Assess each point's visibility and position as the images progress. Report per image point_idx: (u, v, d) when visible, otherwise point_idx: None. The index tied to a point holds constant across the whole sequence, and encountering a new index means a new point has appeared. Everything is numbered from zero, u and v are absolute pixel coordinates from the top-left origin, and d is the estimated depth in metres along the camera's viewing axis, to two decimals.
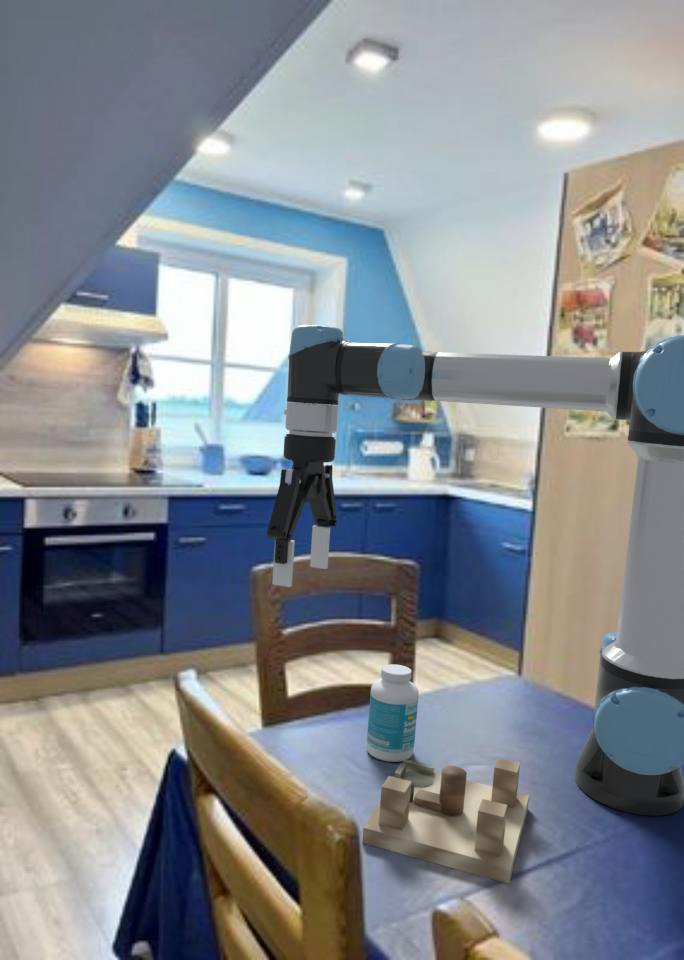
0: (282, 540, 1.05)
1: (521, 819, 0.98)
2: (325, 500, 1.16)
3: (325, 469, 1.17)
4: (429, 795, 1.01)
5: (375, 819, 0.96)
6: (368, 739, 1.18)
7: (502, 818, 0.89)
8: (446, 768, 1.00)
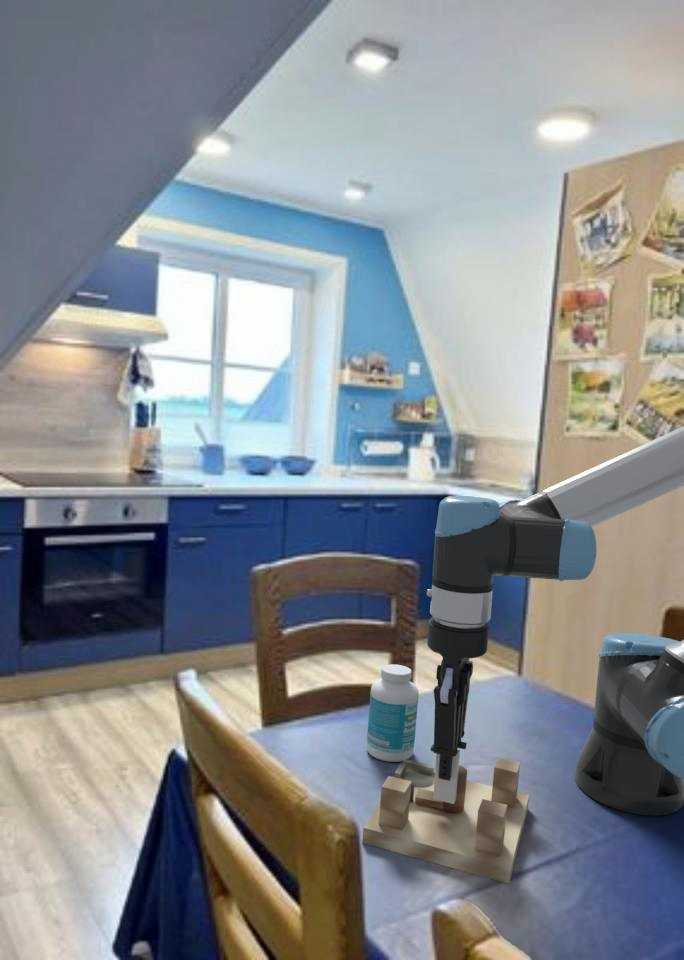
0: (448, 756, 0.95)
1: (521, 819, 0.98)
2: (463, 706, 0.98)
3: None
4: (429, 794, 1.01)
5: (375, 819, 0.96)
6: (368, 739, 1.18)
7: (502, 818, 0.89)
8: None
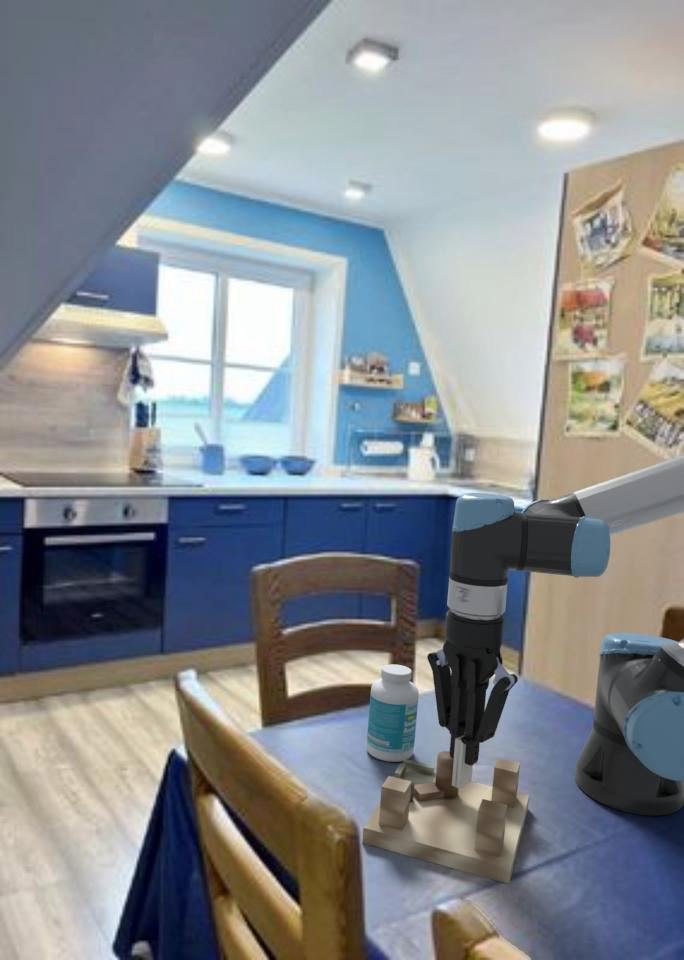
0: None
1: (521, 819, 0.98)
2: None
3: None
4: (426, 787, 1.03)
5: (375, 819, 0.96)
6: (368, 739, 1.18)
7: (502, 818, 0.89)
8: (441, 756, 1.03)
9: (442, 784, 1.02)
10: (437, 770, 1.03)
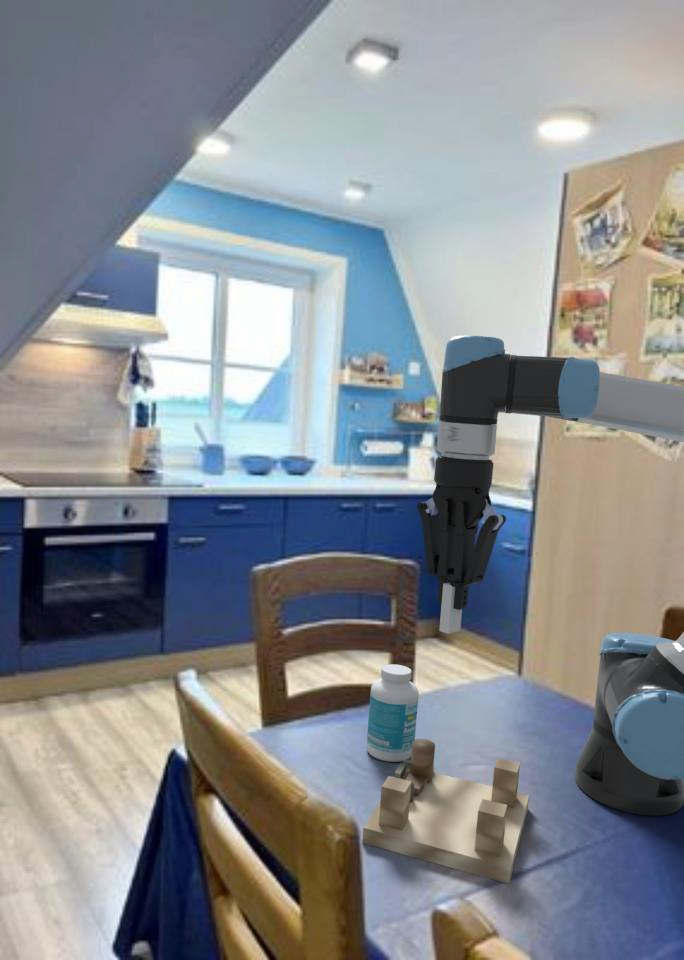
0: (469, 584, 1.01)
1: (521, 819, 0.98)
2: None
3: None
4: (412, 780, 1.04)
5: (375, 819, 0.96)
6: (368, 739, 1.18)
7: (502, 818, 0.89)
8: (418, 746, 1.05)
9: (425, 772, 1.05)
10: (417, 760, 1.05)
